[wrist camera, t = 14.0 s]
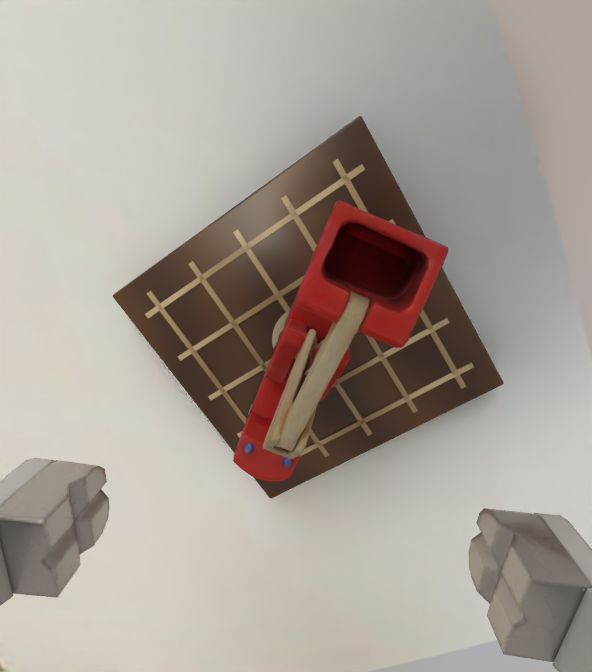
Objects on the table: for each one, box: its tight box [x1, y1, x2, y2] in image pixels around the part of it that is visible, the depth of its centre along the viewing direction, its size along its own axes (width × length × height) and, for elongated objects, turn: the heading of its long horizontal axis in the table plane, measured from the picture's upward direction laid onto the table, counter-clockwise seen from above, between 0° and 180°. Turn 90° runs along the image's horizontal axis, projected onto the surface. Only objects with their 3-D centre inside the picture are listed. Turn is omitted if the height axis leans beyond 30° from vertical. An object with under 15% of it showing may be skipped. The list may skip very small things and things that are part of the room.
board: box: [113, 116, 503, 498], centre depth 21 cm, size 16×16×2 cm
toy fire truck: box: [233, 201, 448, 481], centre depth 15 cm, size 3×14×10 cm, turn 158°
